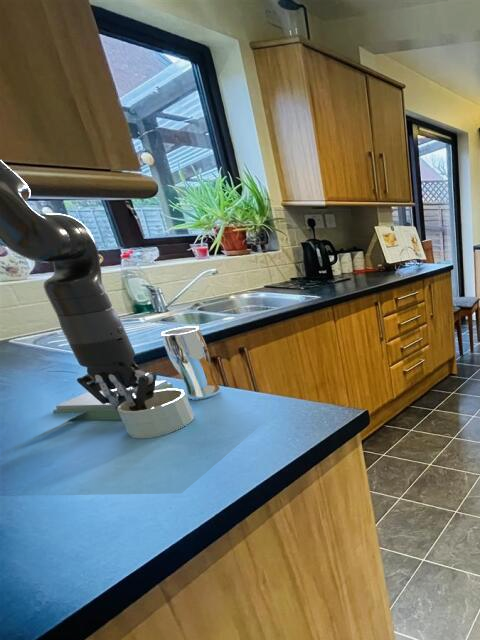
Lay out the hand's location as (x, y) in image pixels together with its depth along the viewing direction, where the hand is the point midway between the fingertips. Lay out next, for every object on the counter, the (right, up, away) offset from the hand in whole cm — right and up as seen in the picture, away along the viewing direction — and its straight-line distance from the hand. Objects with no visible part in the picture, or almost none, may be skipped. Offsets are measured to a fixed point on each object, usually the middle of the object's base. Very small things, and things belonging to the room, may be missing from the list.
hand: (137, 420), depth 78 cm
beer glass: (+3, +5, +13) cm, 14 cm away
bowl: (+5, -1, 0) cm, 5 cm away
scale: (-12, +2, +9) cm, 15 cm away
